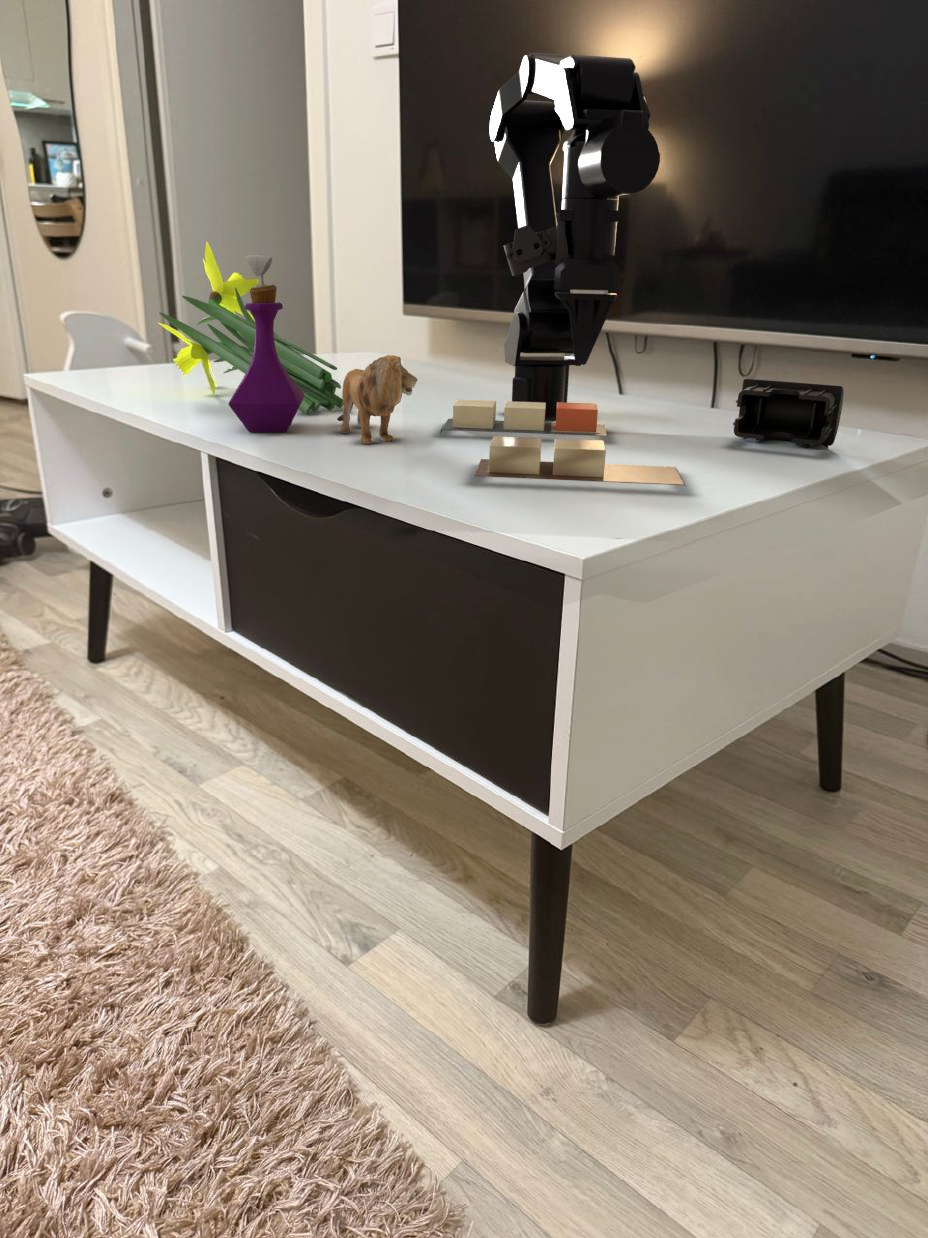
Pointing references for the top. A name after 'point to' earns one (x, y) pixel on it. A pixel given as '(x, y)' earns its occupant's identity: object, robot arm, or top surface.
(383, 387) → the lion figurine
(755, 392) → the end cap
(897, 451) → the top surface
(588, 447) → the word board
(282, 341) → the daffodil flowers
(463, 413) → the word board
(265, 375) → the perfume bottle
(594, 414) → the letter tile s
